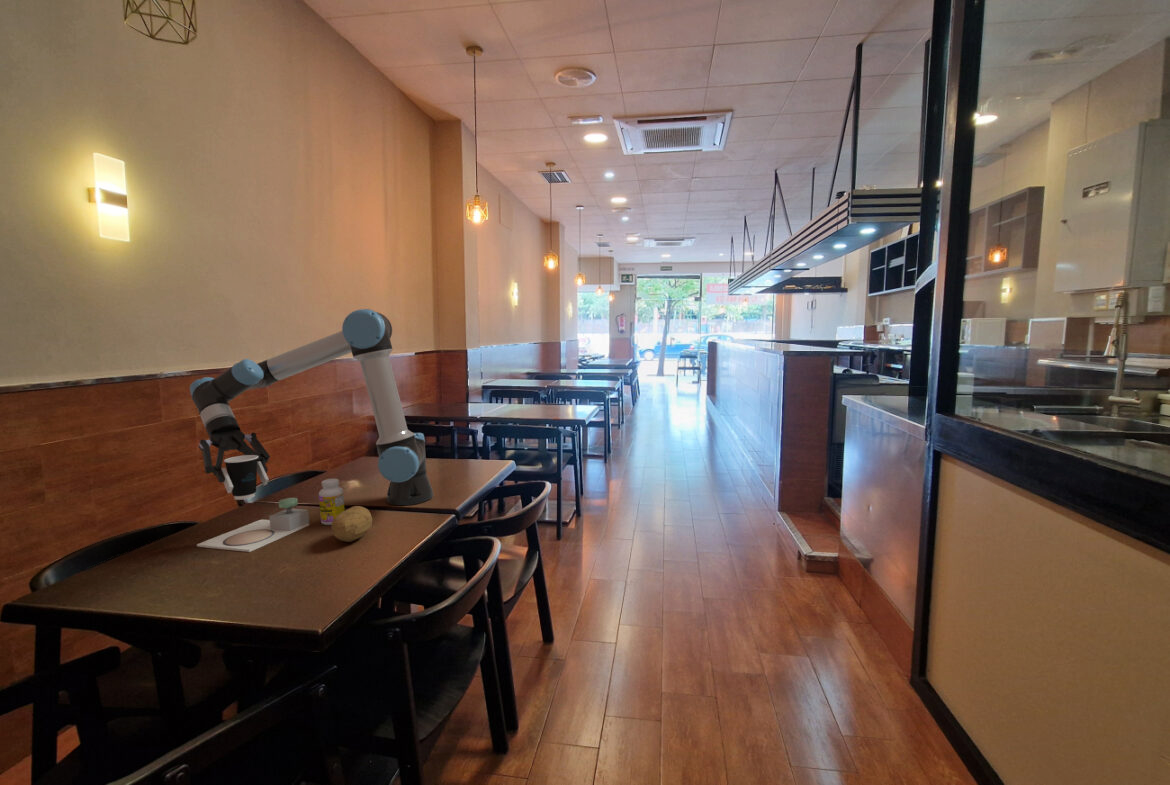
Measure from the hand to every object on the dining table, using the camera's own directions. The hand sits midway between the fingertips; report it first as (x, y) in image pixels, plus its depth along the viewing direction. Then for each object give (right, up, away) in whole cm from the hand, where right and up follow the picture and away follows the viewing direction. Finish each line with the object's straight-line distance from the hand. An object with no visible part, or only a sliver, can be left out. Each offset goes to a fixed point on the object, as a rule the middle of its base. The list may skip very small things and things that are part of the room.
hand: (248, 486), depth 138 cm
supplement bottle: (+15, -14, +16) cm, 26 cm away
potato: (+27, -15, +2) cm, 31 cm away
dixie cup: (-3, -4, +2) cm, 5 cm away
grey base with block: (-2, -15, +7) cm, 17 cm away
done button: (+4, -12, +12) cm, 18 cm away
